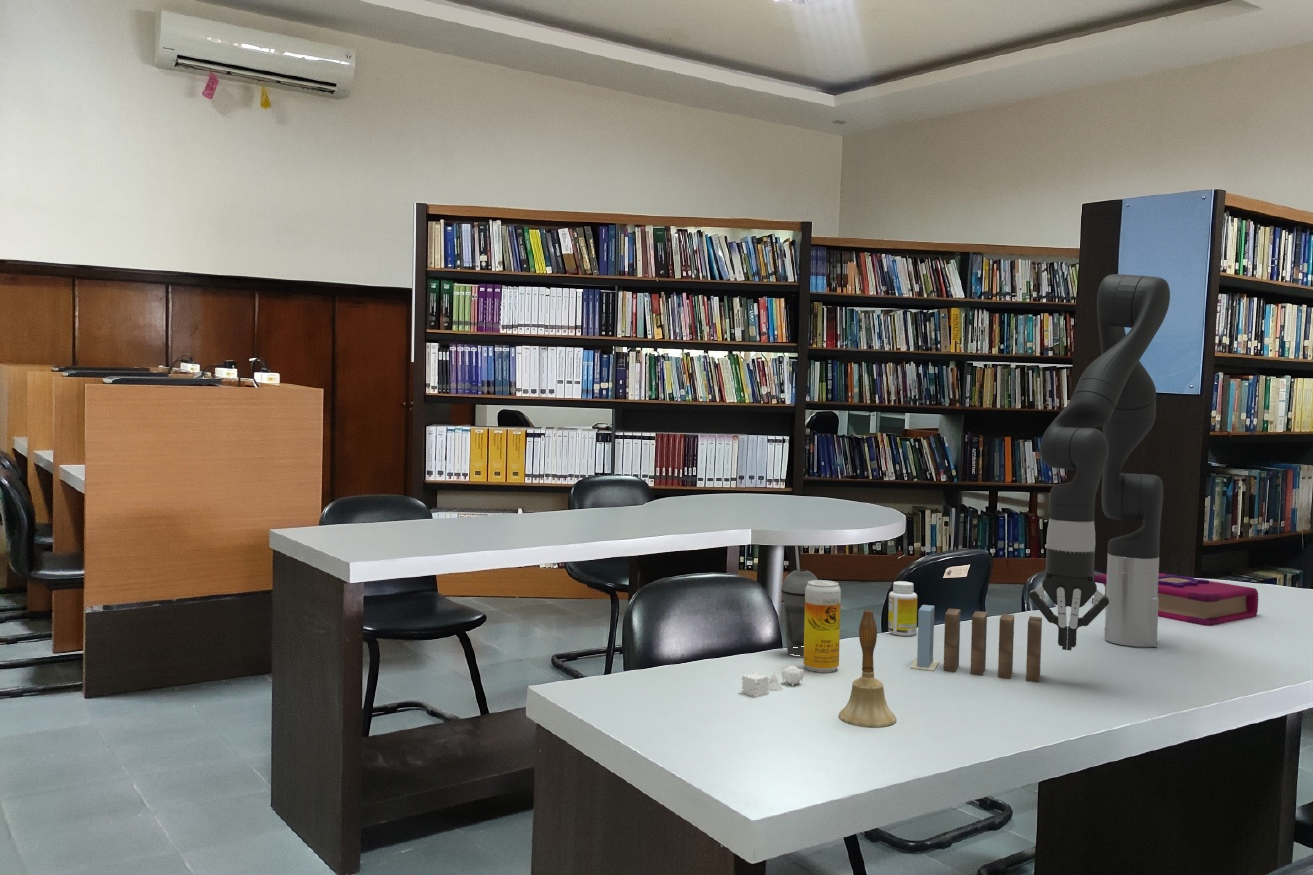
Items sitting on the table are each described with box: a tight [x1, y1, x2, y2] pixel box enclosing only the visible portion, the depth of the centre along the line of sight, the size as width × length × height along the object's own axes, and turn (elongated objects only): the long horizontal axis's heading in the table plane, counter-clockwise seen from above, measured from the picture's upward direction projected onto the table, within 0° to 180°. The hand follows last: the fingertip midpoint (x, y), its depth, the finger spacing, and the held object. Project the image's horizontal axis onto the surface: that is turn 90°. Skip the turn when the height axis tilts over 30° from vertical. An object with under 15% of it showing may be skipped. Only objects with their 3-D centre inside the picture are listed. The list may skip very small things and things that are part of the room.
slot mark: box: [910, 657, 940, 672], centre depth 179 cm, size 4×7×1 cm, turn 157°
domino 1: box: [916, 604, 935, 668], centre depth 179 cm, size 2×5×10 cm, turn 156°
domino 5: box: [1025, 615, 1043, 683], centre depth 172 cm, size 2×5×10 cm, turn 157°
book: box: [1091, 572, 1259, 627], centre depth 233 cm, size 21×28×8 cm
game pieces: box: [741, 665, 804, 698], centre depth 163 cm, size 12×3×3 cm, turn 131°
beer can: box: [803, 579, 842, 673], centre depth 175 cm, size 6×6×15 cm
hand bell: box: [838, 609, 897, 728], centre depth 148 cm, size 8×8×16 cm
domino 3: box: [970, 610, 988, 676], centre depth 175 cm, size 2×5×10 cm, turn 156°
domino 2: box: [942, 608, 961, 673], centre depth 177 cm, size 2×5×10 cm, turn 156°
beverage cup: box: [781, 544, 819, 656], centre depth 185 cm, size 7×7×20 cm
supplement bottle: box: [887, 580, 918, 637], centre depth 203 cm, size 6×6×10 cm
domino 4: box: [997, 613, 1015, 680], centre depth 174 cm, size 2×5×10 cm, turn 157°
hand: (1067, 649), depth 170 cm, fingers closed
